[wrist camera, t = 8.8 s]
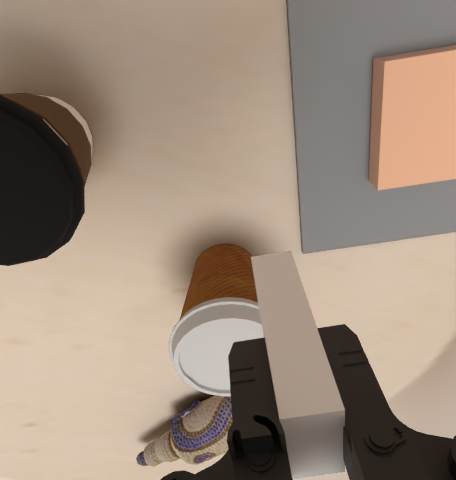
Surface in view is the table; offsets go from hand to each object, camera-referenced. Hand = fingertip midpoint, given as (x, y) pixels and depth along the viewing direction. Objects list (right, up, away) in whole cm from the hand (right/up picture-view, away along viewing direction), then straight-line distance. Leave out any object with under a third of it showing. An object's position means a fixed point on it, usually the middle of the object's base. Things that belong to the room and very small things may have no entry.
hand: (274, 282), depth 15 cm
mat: (+13, +12, +17) cm, 25 cm away
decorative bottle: (-3, -19, +36) cm, 40 cm away
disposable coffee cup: (-2, -1, +25) cm, 25 cm away
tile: (+10, +11, +16) cm, 22 cm away
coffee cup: (-16, +10, +17) cm, 26 cm away
